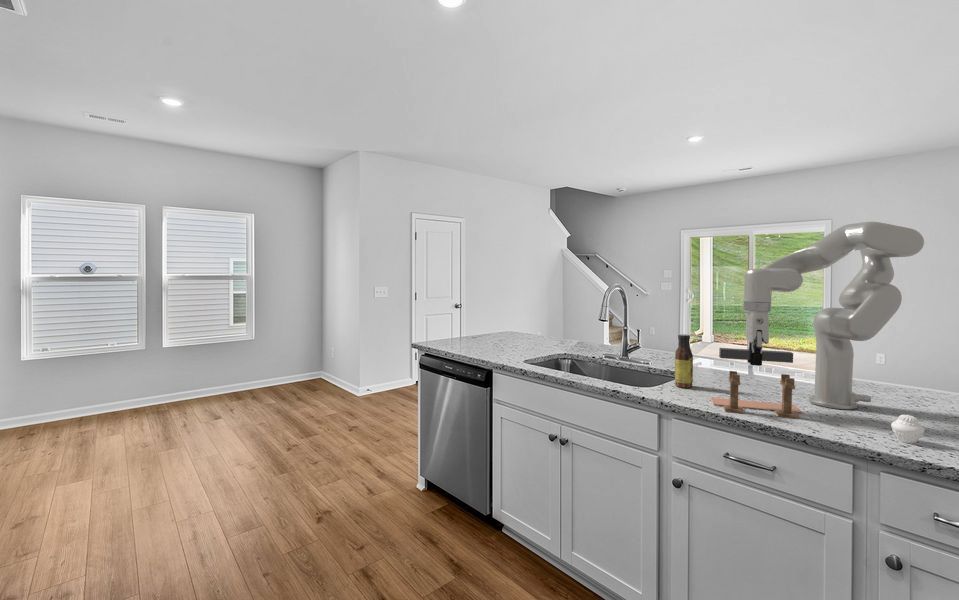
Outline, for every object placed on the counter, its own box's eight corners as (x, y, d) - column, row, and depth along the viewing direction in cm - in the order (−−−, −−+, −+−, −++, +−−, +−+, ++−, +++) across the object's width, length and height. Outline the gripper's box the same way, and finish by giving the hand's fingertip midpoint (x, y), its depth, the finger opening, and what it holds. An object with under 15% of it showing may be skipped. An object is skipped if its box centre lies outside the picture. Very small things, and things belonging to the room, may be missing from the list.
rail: (790, 361, 140) (790, 351, 140) (792, 362, 138) (793, 353, 137) (719, 356, 148) (719, 347, 148) (720, 358, 145) (720, 349, 145)
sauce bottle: (694, 389, 165) (695, 336, 164) (676, 388, 166) (677, 335, 165) (690, 384, 171) (691, 333, 170) (672, 384, 173) (673, 333, 171)
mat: (794, 406, 143) (794, 404, 143) (802, 413, 136) (802, 412, 135) (711, 398, 152) (711, 397, 152) (714, 405, 144) (714, 404, 144)
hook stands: (793, 413, 136) (794, 375, 135) (799, 419, 130) (800, 379, 129) (723, 407, 143) (724, 370, 142) (725, 412, 137) (726, 374, 136)
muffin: (927, 442, 112) (929, 415, 111) (918, 447, 109) (920, 419, 108) (895, 435, 117) (896, 409, 117) (886, 439, 114) (887, 413, 114)
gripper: (777, 309, 133) (774, 370, 134) (764, 306, 148) (762, 360, 149) (748, 309, 136) (745, 368, 137) (739, 305, 151) (737, 358, 152)
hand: (754, 363), depth 143 cm, fingers closed on rail, 3 cm apart
